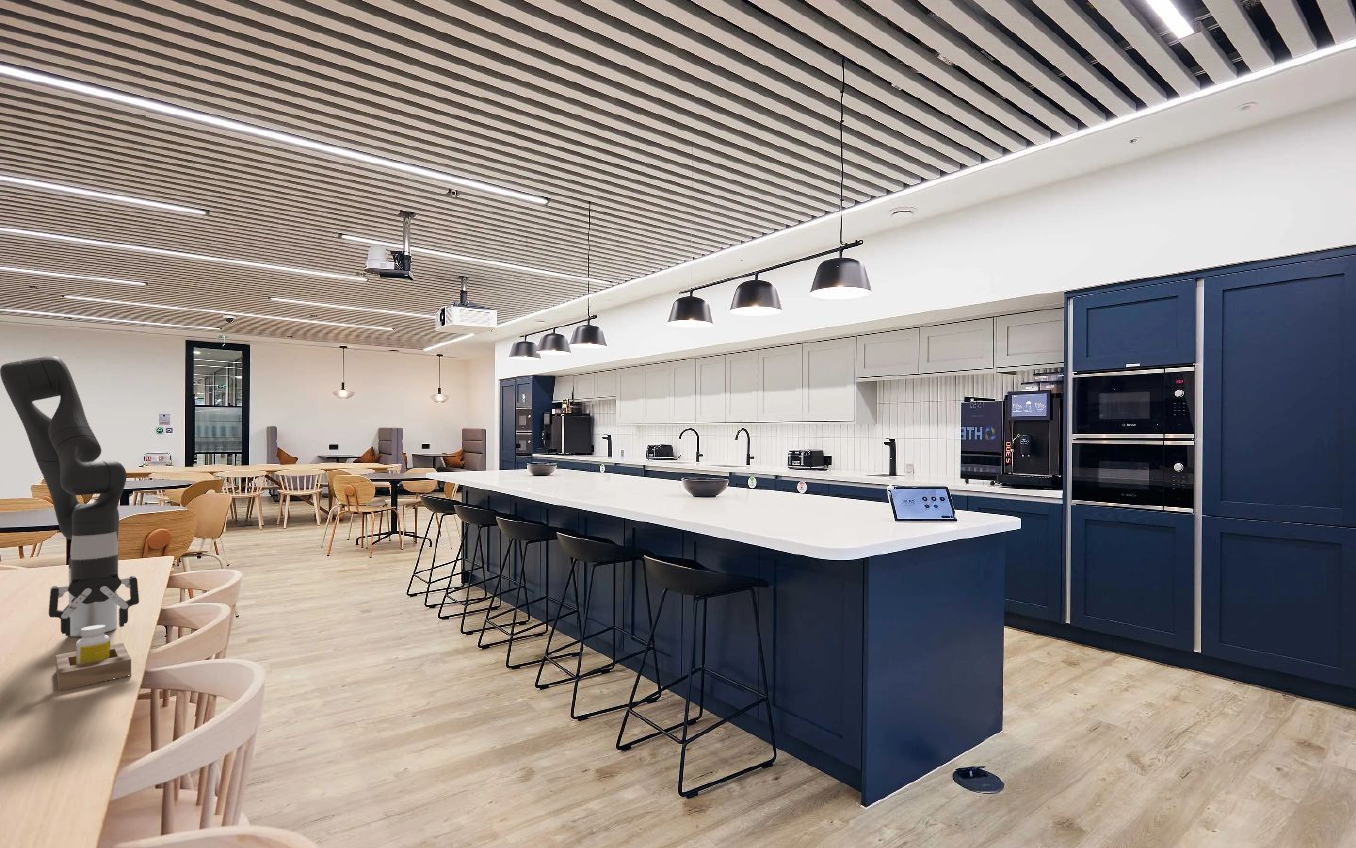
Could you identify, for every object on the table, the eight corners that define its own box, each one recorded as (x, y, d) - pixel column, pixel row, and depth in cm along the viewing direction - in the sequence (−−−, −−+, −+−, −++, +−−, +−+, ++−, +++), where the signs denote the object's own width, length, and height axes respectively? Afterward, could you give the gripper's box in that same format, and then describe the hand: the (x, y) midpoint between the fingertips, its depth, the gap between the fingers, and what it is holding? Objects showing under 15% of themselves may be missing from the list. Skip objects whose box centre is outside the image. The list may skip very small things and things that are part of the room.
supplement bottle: (116, 670, 140) (115, 624, 140) (86, 679, 135) (86, 632, 135) (99, 668, 142) (99, 622, 142) (69, 677, 136) (69, 630, 137)
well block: (56, 671, 140) (56, 655, 140) (123, 658, 148) (123, 642, 148) (58, 691, 128) (58, 673, 128) (131, 676, 136) (131, 659, 136)
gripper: (48, 562, 131) (49, 642, 131) (140, 551, 141) (140, 626, 141) (47, 557, 136) (48, 635, 136) (135, 547, 146) (136, 619, 146)
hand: (95, 630), depth 138 cm, fingers open, 8 cm apart
